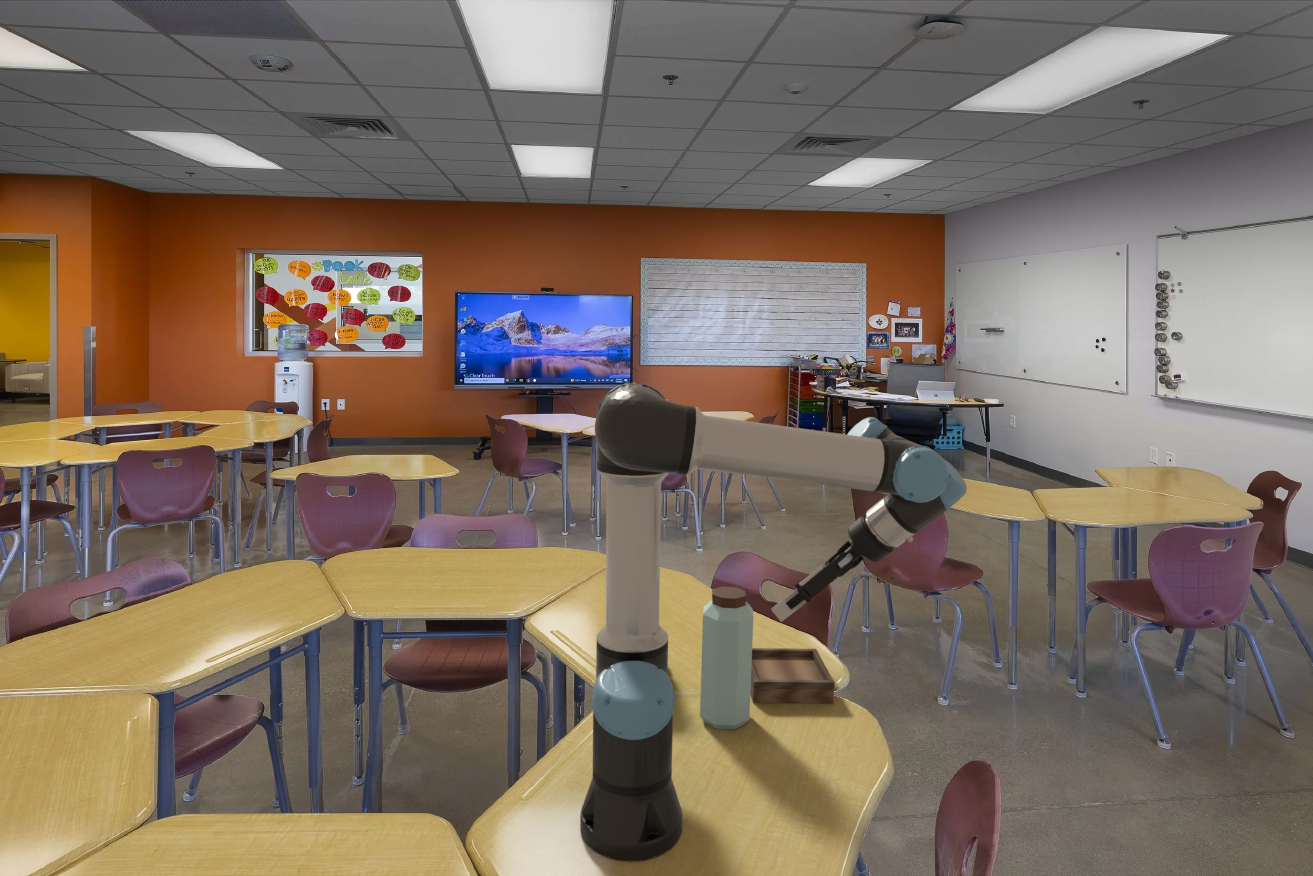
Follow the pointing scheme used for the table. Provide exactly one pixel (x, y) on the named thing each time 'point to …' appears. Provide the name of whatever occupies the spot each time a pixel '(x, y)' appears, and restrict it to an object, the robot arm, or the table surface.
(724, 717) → the water bottle
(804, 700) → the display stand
